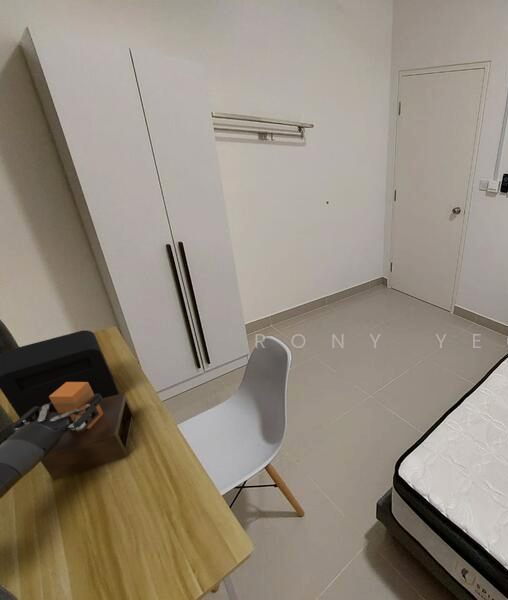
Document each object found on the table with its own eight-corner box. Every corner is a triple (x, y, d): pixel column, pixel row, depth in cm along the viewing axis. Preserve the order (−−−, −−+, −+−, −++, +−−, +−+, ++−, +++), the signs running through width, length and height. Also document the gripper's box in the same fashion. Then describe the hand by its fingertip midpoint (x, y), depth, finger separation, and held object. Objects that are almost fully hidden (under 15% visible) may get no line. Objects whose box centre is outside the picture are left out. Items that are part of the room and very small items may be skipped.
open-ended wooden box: (54, 481, 79) (37, 456, 75) (72, 432, 91) (58, 408, 87) (126, 458, 85) (115, 434, 81) (134, 415, 97) (124, 392, 93)
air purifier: (113, 374, 111) (91, 325, 102) (121, 398, 103) (99, 346, 94) (28, 404, 98) (-6, 350, 89) (29, 433, 90) (-8, 377, 80)
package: (89, 429, 82) (71, 396, 77) (67, 429, 81) (48, 396, 76) (103, 413, 86) (88, 381, 81) (83, 413, 86) (66, 381, 81)
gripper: (-8, 465, 69) (57, 407, 84) (65, 463, 71) (117, 406, 85) (-27, 441, 66) (45, 384, 80) (51, 440, 67) (107, 384, 82)
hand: (82, 396), depth 83 cm, fingers open, 7 cm apart
